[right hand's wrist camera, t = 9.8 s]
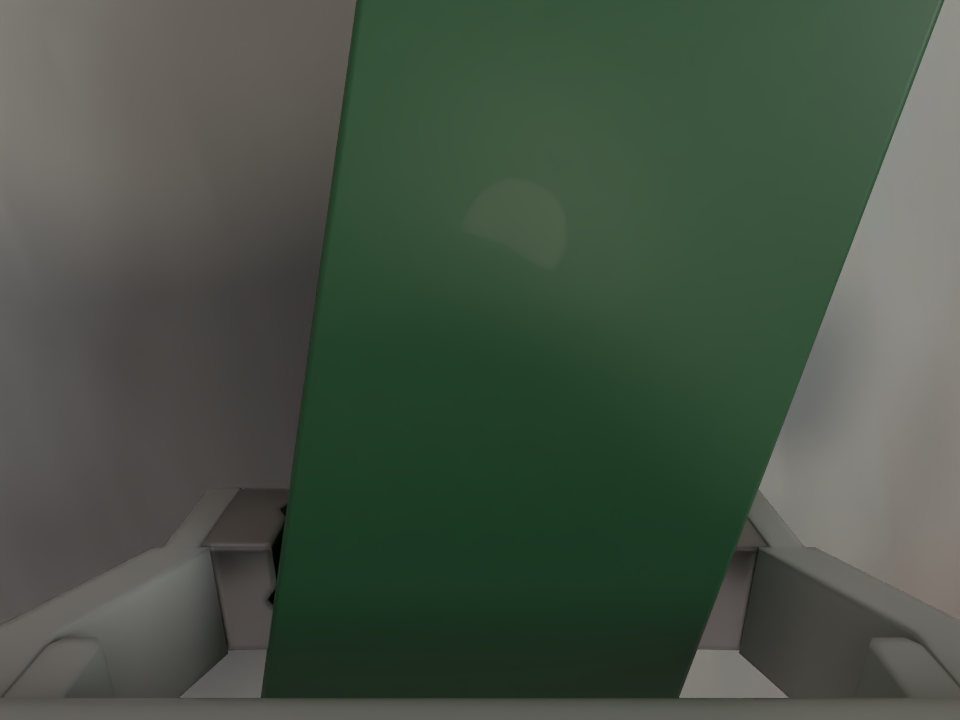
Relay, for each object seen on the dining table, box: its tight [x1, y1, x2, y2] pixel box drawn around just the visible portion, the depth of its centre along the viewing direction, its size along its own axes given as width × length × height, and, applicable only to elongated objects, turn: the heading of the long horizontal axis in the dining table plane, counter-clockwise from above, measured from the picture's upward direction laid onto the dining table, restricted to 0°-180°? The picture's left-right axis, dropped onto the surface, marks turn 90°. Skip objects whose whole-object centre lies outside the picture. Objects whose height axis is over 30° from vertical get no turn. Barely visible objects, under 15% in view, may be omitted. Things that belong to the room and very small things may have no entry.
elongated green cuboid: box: [261, 0, 944, 698], centre depth 10 cm, size 17×5×8 cm, turn 168°
